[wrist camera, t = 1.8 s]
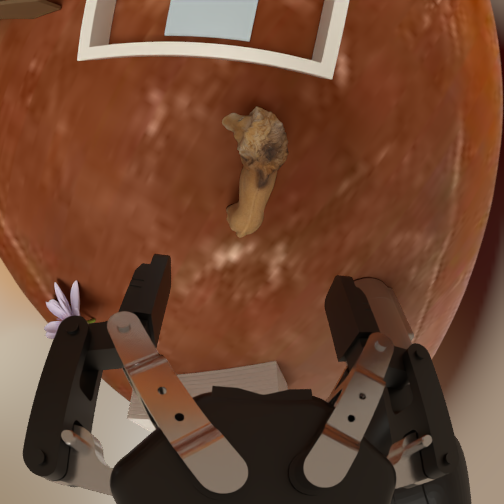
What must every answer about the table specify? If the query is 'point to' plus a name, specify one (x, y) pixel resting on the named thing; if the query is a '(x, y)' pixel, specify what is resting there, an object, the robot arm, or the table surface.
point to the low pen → (213, 35)
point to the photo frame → (26, 8)
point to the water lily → (63, 308)
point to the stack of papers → (248, 378)
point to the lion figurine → (255, 165)
